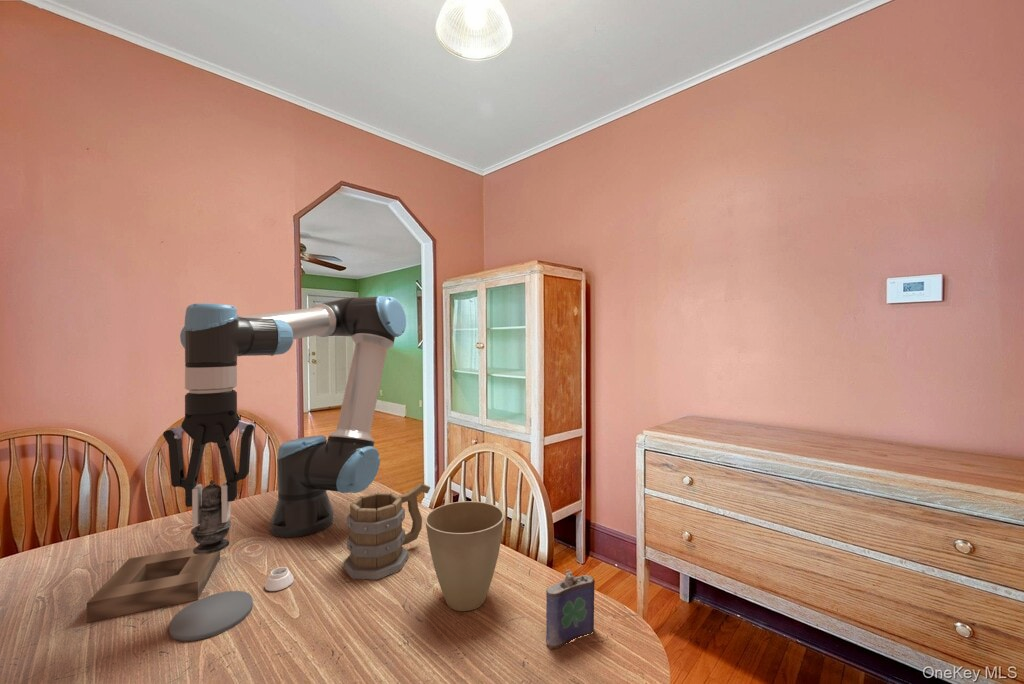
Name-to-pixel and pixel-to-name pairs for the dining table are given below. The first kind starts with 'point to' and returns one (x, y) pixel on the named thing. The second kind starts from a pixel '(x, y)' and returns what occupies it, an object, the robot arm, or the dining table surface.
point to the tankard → (380, 533)
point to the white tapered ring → (279, 579)
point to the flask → (569, 609)
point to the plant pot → (465, 550)
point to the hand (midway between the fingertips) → (211, 521)
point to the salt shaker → (211, 523)
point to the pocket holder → (153, 583)
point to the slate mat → (210, 616)
